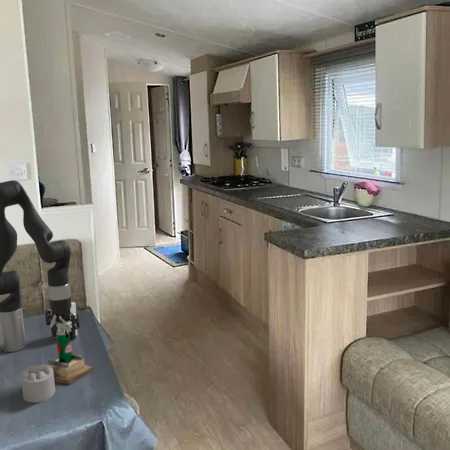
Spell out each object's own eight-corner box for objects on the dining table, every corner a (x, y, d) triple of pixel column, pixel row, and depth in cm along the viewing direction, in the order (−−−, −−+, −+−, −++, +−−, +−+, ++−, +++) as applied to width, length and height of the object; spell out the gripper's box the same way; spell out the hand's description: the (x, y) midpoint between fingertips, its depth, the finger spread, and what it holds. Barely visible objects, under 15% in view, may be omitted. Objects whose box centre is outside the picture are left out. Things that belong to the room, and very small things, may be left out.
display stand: (41, 377, 183) (39, 361, 181) (65, 364, 193) (63, 349, 192) (69, 384, 176) (67, 368, 175) (93, 370, 186) (91, 354, 185)
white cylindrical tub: (54, 382, 179) (52, 359, 177) (56, 398, 167) (53, 374, 165) (23, 388, 175) (20, 365, 174) (22, 405, 163) (19, 381, 162)
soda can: (68, 364, 181) (65, 332, 179) (56, 363, 182) (52, 332, 180) (75, 358, 186) (72, 327, 184) (63, 357, 187) (60, 327, 185)
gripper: (37, 296, 180) (42, 339, 182) (66, 301, 173) (71, 345, 176) (53, 290, 186) (57, 331, 189) (82, 295, 180) (85, 337, 182)
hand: (64, 338), depth 182 cm, fingers open, 8 cm apart
